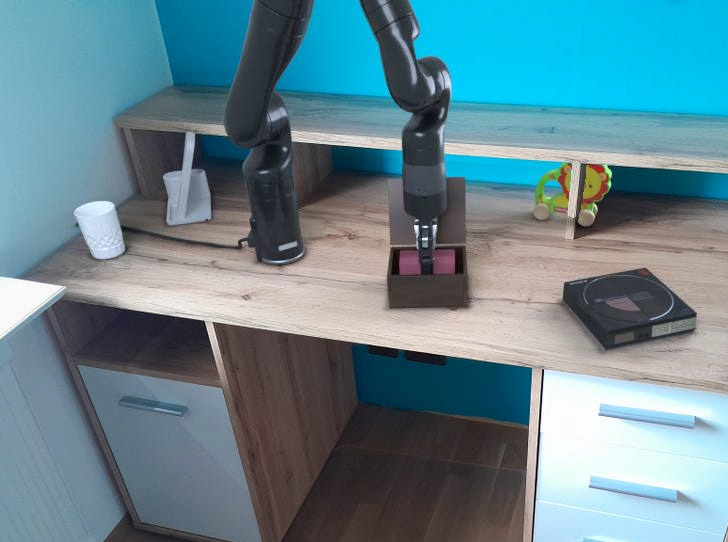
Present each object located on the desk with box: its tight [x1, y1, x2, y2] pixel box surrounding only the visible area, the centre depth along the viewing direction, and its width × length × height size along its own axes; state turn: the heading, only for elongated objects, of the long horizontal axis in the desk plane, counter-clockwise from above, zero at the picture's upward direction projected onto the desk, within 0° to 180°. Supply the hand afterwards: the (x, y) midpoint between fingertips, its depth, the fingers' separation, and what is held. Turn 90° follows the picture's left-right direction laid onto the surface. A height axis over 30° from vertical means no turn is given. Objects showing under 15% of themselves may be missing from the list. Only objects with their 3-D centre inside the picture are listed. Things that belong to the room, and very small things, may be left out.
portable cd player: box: [561, 267, 698, 352], centre depth 121 cm, size 16×17×4 cm
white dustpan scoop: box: [162, 132, 212, 226], centre depth 160 cm, size 17×10×18 cm, turn 15°
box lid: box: [387, 176, 467, 246], centre depth 130 cm, size 12×14×1 cm
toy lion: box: [533, 162, 613, 227], centre depth 150 cm, size 16×5×15 cm, turn 69°
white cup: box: [73, 200, 126, 260], centre depth 145 cm, size 8×8×10 cm
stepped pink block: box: [399, 249, 455, 275], centre depth 127 cm, size 10×5×4 cm, turn 89°
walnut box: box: [386, 245, 469, 310], centre depth 129 cm, size 11×14×7 cm
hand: (427, 271), depth 128 cm, fingers closed on stepped pink block, 5 cm apart
